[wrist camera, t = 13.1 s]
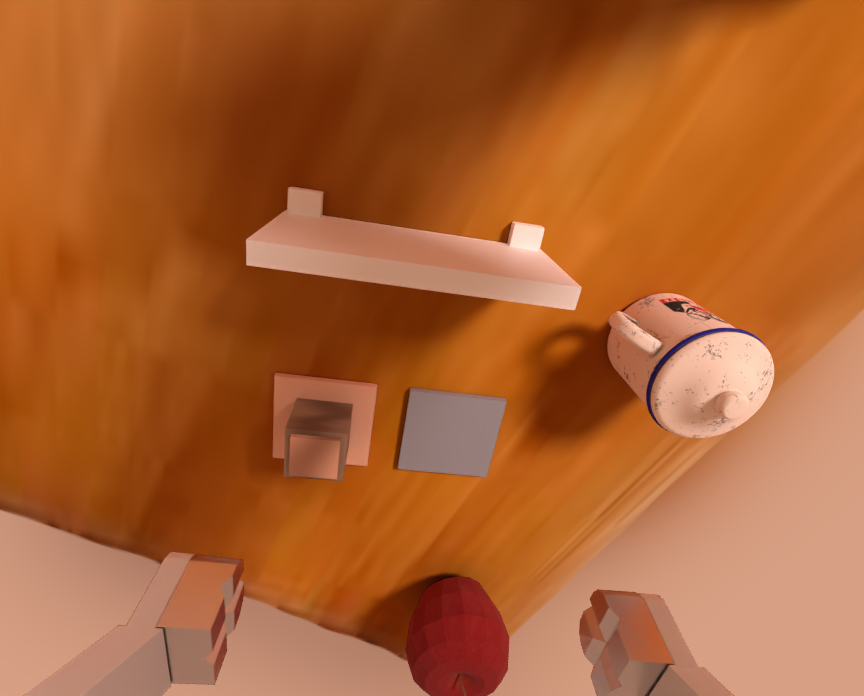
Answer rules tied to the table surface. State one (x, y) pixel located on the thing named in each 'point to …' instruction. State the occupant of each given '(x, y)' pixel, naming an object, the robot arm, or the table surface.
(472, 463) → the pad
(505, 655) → the apple
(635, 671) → the robot arm
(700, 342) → the teacup with lid
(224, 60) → the table surface
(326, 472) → the cube with pink top
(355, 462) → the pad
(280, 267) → the screen
